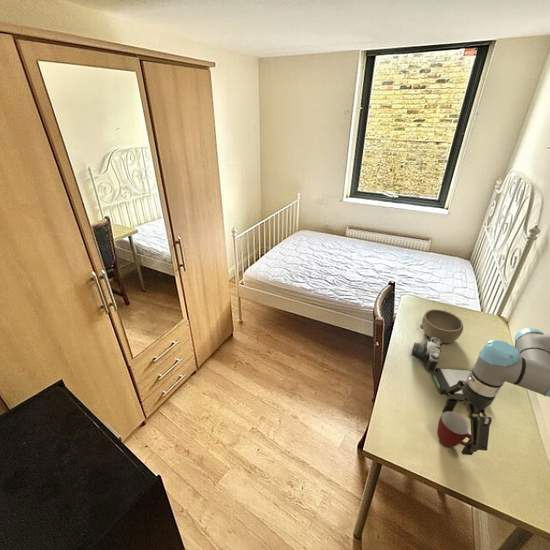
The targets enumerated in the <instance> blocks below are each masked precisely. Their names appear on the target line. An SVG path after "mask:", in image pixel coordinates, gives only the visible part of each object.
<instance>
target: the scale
mask: <svg viewBox="0 0 550 550" xmlns="http://www.w3.org/2000/svg"><path fill="white" fill-rule="evenodd" d="M471 370H472V369H463V368H460V369H459V368H448V367H447V368H445V367H436V368H435V370H434V371H433V373H431V379H432V380H433V382H434V384H435V386H436V388H437V390H438V392H439V394H440V395H446V397H448V393H447V392H446V389H447V388H449V387H451V386H453V385H455V384H457V383H458V381H459V380H462V381H466V380H467V378H468V376H469V374H470V372H471ZM454 394H455V395H462V396H463V393H462V390H460V391H458V392H456V393H454ZM455 400H457V402H463V400H460V399H455Z"/></svg>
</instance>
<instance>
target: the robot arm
mask: <svg viewBox="0 0 550 550" xmlns="http://www.w3.org/2000/svg"><path fill="white" fill-rule="evenodd" d="M470 370H471V372H470V374H469V376H468V378H467V380H466V381H462V380H459V381H458V383H457V384H455V385H453V386H451V387H449V388H447V389H446V392H447V393H448V396H447V399H446V401H445V405H444V407H443V409H442V410H441V412H442V414H443V413H444V412H446V411H451V412H454V410H455V408H456V406H457V404H458V401H457V400H455V399H460V400H463V401H462V403H463V405H464V407H465V409H466V411H467V417H468V418H469V420H470V422H469V423H470V424H469V425H470V435H471V439H469V438H468V440H467V441H466V442H467V443H466V445H465V446H463V448H462V449H461V455H465V456H472V455H473V454H474V453H477V451H488V445H489V438H490V437H489V435H490V427H491V424H492V421H493V419H492V417H491V416H487V414H486V413H485V411H486V408H488V407H489V406H491V405H492V403H493V401H494V400H495V399H496V396H497V395H498V394H499V392H500V390H501V389H502V387H503V386H504V385H505V382H506V383H509V384H512V385H514V386H518V387H521V388H523V389H526V390H529V391H531V392H533V393H536V394H539V395H542V396H543V397H547V398H550V333H544V332H543V331H541V330H539V329H536V328H531V327H528V328H523V329H520V330H518V331H517V332H516V334H515V335H514V345H513V344H510V343H508V342H507V341H504V340H502V339H501V340H500V339H490V340H488V341H487V342H485V344H484V345H483V347H482V349H481V350H480V352H479V354H478V357H477V359H476V361H475V363H474V364H473V367H472V368H471V369H470ZM460 390H462V393H463V396H462V395H455V394H454V393H456V392H458V391H460Z"/></svg>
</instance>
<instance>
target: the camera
mask: <svg viewBox="0 0 550 550" xmlns="http://www.w3.org/2000/svg"><path fill="white" fill-rule="evenodd" d="M442 344H443V343H442V342H441V341H440V340H439V339H438V338H436V337H432V338H430V339H429V340H428V341H427V342H426V344H425V343H421V342H414V343H413V346H412V349H411V356H412V357H414V358H416V359H418V360H421V361H423V362H424V363H425V368H424V369H425V371H426V372H428V373H431V374H432V373H433V371H435V370H436V368H437V366H438V363H439V361H440V354H441V351H442V349H441V347H442Z"/></svg>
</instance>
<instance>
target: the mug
mask: <svg viewBox="0 0 550 550" xmlns="http://www.w3.org/2000/svg"><path fill="white" fill-rule="evenodd" d="M470 432H471V425H470V424H469V422H468V421H467V420H466V418H465V417H463V416H462V415H461V414H459V413H458V412H455V411H453V412H451V411H446V412H444V413H443V412H442V413H441V415H440V417H439V420H438V425H437V429H436V434H437V438H438V440H439V442H440V444H441V445H443V446H444V447H446V448H453V447H457V446H459V445H461V446H463V447H465V445H466V443H467V442H468V441H464V440H465V439H466V438H467V439H468V440H469V439H471V433H470Z"/></svg>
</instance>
